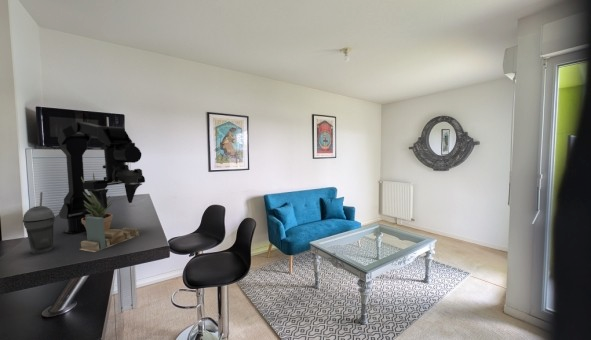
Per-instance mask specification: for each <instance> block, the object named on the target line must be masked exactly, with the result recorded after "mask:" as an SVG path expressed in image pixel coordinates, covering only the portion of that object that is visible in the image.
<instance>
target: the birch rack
mask: <svg viewBox="0 0 591 340" xmlns="http://www.w3.org/2000/svg"><path fill="white" fill-rule="evenodd" d="M121 230H123V234H124V235H125V240H124V241H121V242H118V243H116V244H113V245H110V241H109V239H106V238H105V244H106V248H103V249H99V243H97V242H91V241H87V240H82V241H80V247H81V248H79V250H80V251H81V250H82V251H86V252H93V253H96V252H99V251H101V250H104V249H107V248H110V247H112V246H115V245H118V244H120V243H123V242H125V241H128V240H130V239H133V238H136V237H139V236H140V234H139V229H138V228H133V227H122V228H121Z"/></svg>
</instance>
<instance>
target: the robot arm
mask: <svg viewBox="0 0 591 340" xmlns="http://www.w3.org/2000/svg"><path fill="white" fill-rule="evenodd" d="M92 136H93V137H95V138H97V140H98V141H99V142H100V143H101V142H102V143H103V145H102V146H101V147H100V150H103V152H104V165H102V169H105V176H103V179H95V180H93V179H89V180H85V176H84V174H85V173H84V159H83V155H84V154H85V152H86V151H87V149H88V144H89V142H91V140H92ZM57 142H58V144H59V148H60V150H61V151H62V153H64V155H65V157H66V171H67V185H68V186H67V187H68V192H67V194H66V195H65V197H64V198H63V205H62V206H61V208H60V210H59V213H58V214H59V218H60V219H65V220H66V226H67V229H65V230H63V233H66V234H79V233H82V232H84V231H86V228H85V226H84V224H82V221H81V219H82V218H85V217H87V215H89V214H90V215H92V214H91V213H89V212H88V211H87V210H86V209H88V208H87V207H86V206H87V205H86V204H85V203H84V201H85V202H87V203H88V204H91V205H92V203H91V202H90V201H89V200H88V199H87V198H86V196H85V195H84V193H85V194H86V195H87V196H88V197H90V198H91V195H90V194H88V191H91V192H92V193H93V195H94V196H95V197H96V198H97V199H98V201H99V202H100V204H101V205H102V207H103V208H104V209H107V204H108V201H107V198H108V196H107V194H108V191H109V188H107V187H108V186H115V185H120V184H121V185H122V184H124V188H125V193H126V198H127V201H128V203H129V204H132V203H133V200H134V197H135V194H136V192H137V189H138V188H139V187H140V186H142V185H143V183H146V179H145V176H144V175H143V170H142V169H140V168H135V169H129V166H128V165H129V164H128V163H130V164H131V163H133V164H135V163H137V162H139V161H140V160H141V158H142V152H141V150H140V148H139V147H138V146H136V143H135V142H133V140H132V139H131V138H130V136H129V134H128V132H127V131H126V130H125V128H124V127H122V126H110V125H109V126H107V125H99V124H96V123H95V124H94V123H91V122H87V121H78V120H76V121H73V122H72V124H71V125H69V126H68V127H66V128H64V129H62V130H61V131H60V132H59V134H58V136H57ZM126 163H127V164H126ZM81 177H82V178H83V180H84V181H85V182H84V183H83V181H82V179H81ZM86 190H87V192H86ZM83 192H84V193H83ZM84 204H85V205H86V206H85V205H84ZM88 210H89V209H88ZM107 210H108V209H107ZM89 211H91V210H89Z"/></svg>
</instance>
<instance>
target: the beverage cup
mask: <svg viewBox="0 0 591 340" xmlns="http://www.w3.org/2000/svg"><path fill="white" fill-rule="evenodd" d="M55 216H56V215H55V213H54V212H53V210H52V209H51V208H50V207H48V206H44V205H43V191H41V192H40V193H39V205H37V206H33V207H31V208H28V210H27V211H25V213H24V215H23V218H22V223H23V226H24V228H25V231H26V234H27V239H28V243H29V246H30V251H31V253H32V254H33V255H37V254H43V253H47V252H50V251H52V250H53V248H54V224H55V218H56V217H55Z"/></svg>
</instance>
